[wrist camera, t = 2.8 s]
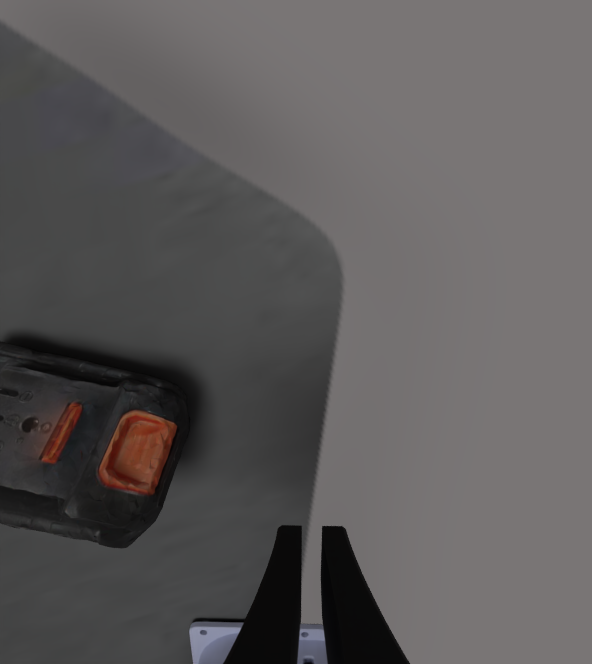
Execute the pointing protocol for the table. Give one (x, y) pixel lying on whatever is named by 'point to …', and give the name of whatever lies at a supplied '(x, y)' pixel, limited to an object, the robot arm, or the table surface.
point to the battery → (85, 446)
